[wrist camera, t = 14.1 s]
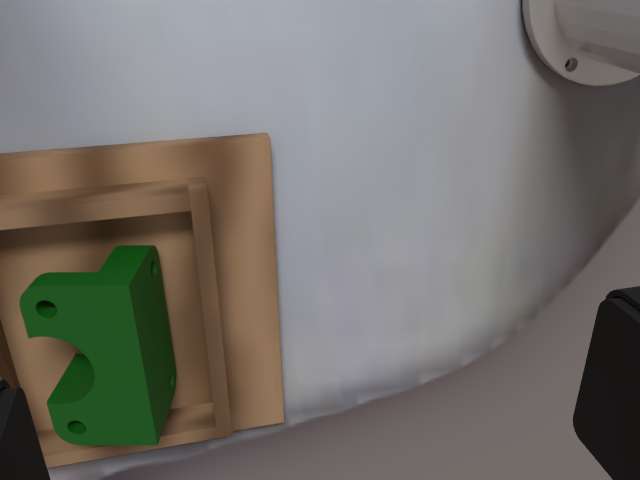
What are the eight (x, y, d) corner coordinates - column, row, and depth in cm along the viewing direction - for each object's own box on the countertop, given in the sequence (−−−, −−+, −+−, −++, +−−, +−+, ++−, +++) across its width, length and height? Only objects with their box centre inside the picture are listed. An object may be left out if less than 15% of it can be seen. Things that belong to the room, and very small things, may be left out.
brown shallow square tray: (267, 133, 37) (277, 151, 34) (281, 411, 47) (290, 446, 44) (-142, 164, 33) (-175, 189, 29) (-31, 464, 42) (-46, 507, 39)
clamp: (84, 240, 40) (12, 251, 31) (173, 240, 40) (127, 251, 31) (89, 417, 41) (20, 478, 32) (177, 417, 41) (133, 478, 32)
